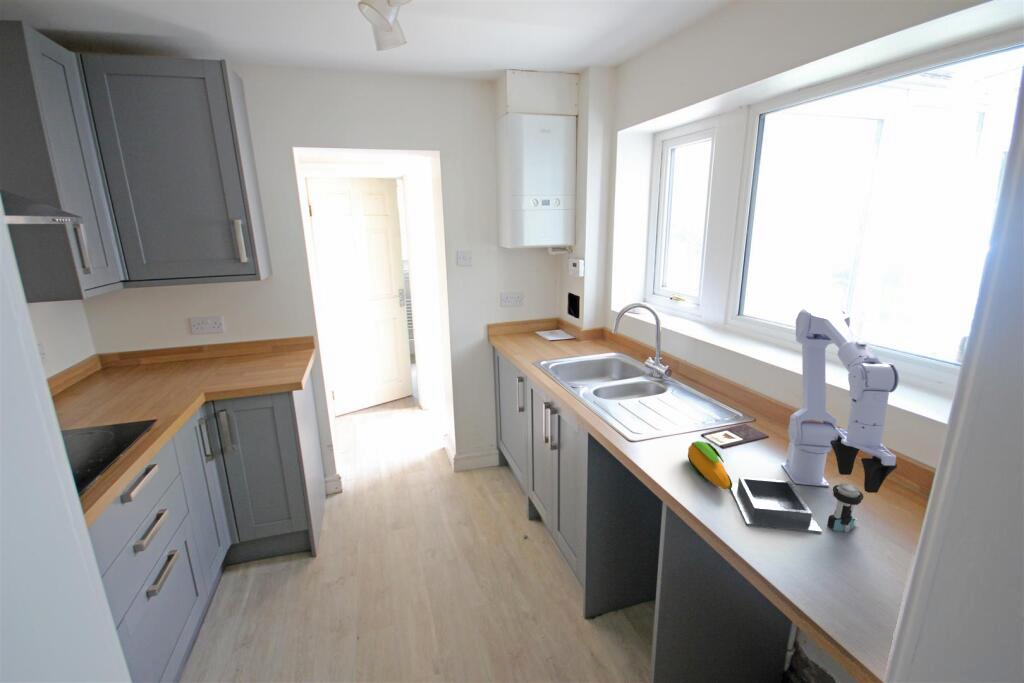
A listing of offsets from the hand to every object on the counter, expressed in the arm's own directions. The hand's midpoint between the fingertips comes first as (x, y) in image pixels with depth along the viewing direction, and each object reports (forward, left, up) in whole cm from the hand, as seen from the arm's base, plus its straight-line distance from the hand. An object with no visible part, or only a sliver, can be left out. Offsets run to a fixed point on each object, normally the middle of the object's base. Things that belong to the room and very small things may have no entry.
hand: (857, 482), depth 95 cm
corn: (-18, -24, -13) cm, 33 cm away
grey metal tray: (-7, -13, -12) cm, 19 cm away
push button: (-2, 0, -13) cm, 13 cm away
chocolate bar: (-43, -12, -13) cm, 46 cm away
